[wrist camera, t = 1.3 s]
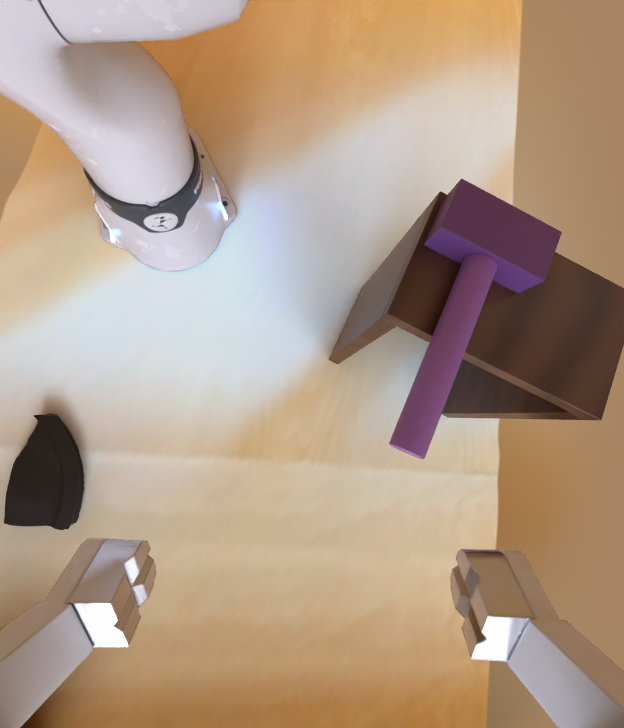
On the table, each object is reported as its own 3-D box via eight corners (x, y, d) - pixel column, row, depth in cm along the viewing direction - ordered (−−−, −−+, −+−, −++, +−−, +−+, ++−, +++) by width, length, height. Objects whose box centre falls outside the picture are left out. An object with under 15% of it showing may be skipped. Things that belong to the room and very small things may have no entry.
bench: (328, 359, 53) (386, 313, 29) (360, 289, 55) (440, 190, 31) (448, 417, 55) (601, 420, 30) (475, 346, 57) (638, 295, 32)
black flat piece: (96, 417, 48) (91, 417, 46) (77, 526, 46) (71, 530, 44) (27, 411, 47) (19, 411, 45) (5, 523, 45) (-5, 527, 43)
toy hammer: (451, 474, 28) (474, 481, 25) (345, 424, 27) (356, 425, 24) (533, 249, 31) (562, 231, 29) (442, 200, 31) (461, 178, 28)
